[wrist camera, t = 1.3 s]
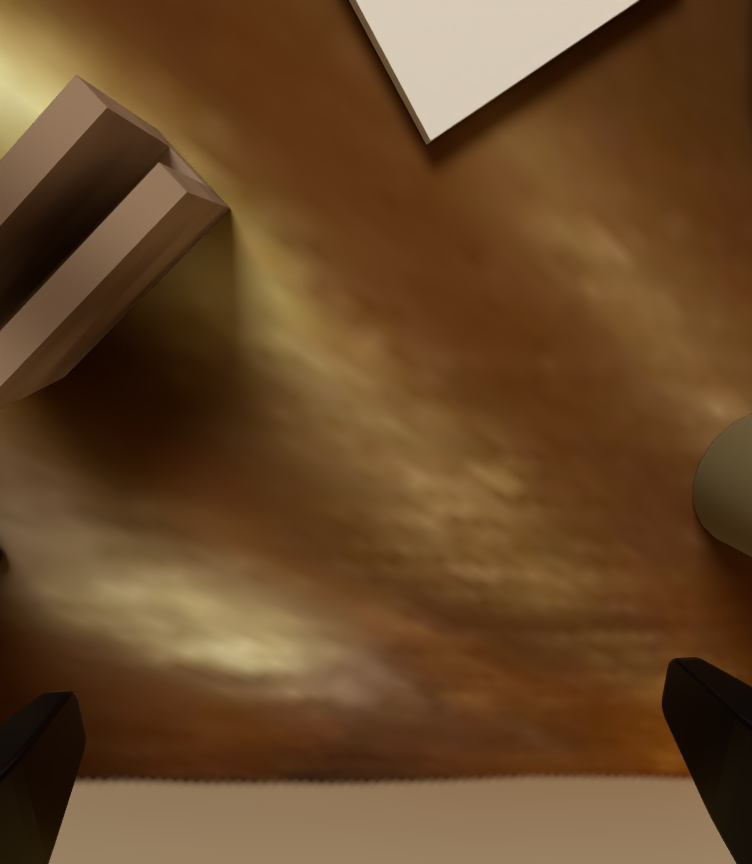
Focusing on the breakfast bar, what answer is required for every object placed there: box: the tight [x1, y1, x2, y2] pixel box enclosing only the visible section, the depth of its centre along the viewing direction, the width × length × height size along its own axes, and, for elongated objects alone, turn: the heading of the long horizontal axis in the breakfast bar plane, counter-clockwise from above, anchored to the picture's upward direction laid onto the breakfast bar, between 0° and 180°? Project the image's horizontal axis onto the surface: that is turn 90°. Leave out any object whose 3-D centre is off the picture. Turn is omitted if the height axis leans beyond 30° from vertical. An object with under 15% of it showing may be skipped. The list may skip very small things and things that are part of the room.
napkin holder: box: [0, 75, 230, 409], centre depth 16 cm, size 8×3×6 cm, turn 132°
